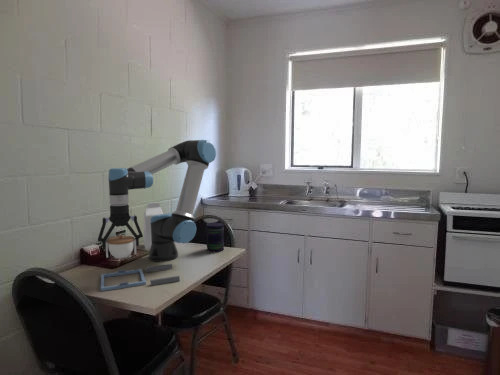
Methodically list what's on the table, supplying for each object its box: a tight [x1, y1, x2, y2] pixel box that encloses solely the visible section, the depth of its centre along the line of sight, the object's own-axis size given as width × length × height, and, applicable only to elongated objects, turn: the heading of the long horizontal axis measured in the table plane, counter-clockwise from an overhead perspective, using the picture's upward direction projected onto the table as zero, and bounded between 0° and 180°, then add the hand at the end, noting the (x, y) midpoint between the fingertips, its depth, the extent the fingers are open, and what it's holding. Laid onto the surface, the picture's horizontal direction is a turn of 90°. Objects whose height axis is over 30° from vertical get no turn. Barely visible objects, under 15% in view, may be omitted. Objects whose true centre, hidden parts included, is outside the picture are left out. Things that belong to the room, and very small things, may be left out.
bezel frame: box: [100, 268, 147, 292], centre depth 147 cm, size 17×17×2 cm
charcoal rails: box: [145, 263, 181, 286], centre depth 153 cm, size 12×18×2 cm, turn 23°
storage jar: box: [205, 221, 225, 253], centre depth 192 cm, size 10×10×15 cm
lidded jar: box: [106, 234, 135, 259], centre depth 146 cm, size 11×11×9 cm
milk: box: [143, 201, 164, 250], centre depth 201 cm, size 12×12×26 cm
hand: (121, 255), depth 146 cm, fingers closed on lidded jar, 11 cm apart
